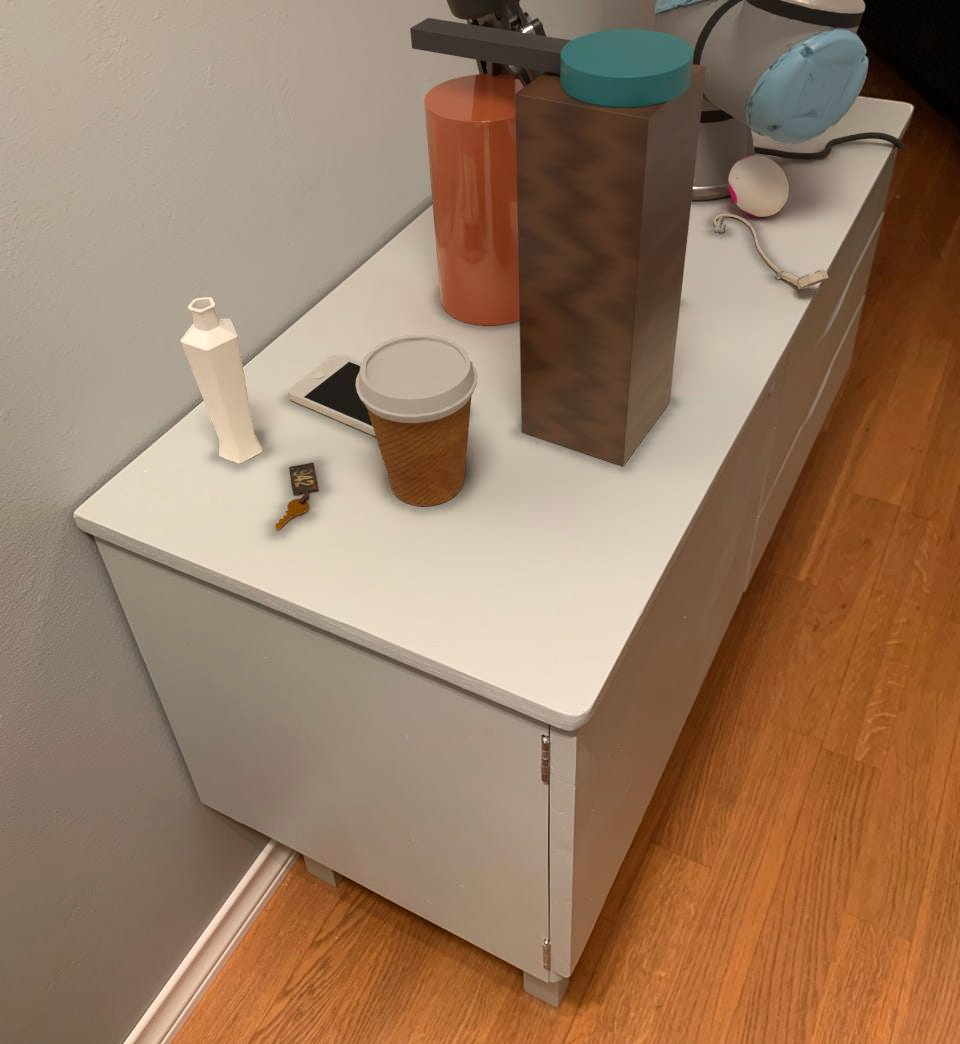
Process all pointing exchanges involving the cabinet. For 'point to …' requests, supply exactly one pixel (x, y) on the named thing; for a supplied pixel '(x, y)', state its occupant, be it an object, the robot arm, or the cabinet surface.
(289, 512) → the key tag
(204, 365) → the white hexagonal vase
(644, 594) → the cabinet surface
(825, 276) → the shower head
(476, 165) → the pedestal
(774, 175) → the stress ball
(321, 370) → the smartphone
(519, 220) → the pillar
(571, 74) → the disc paddle
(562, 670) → the cabinet surface
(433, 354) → the disposable coffee cup
